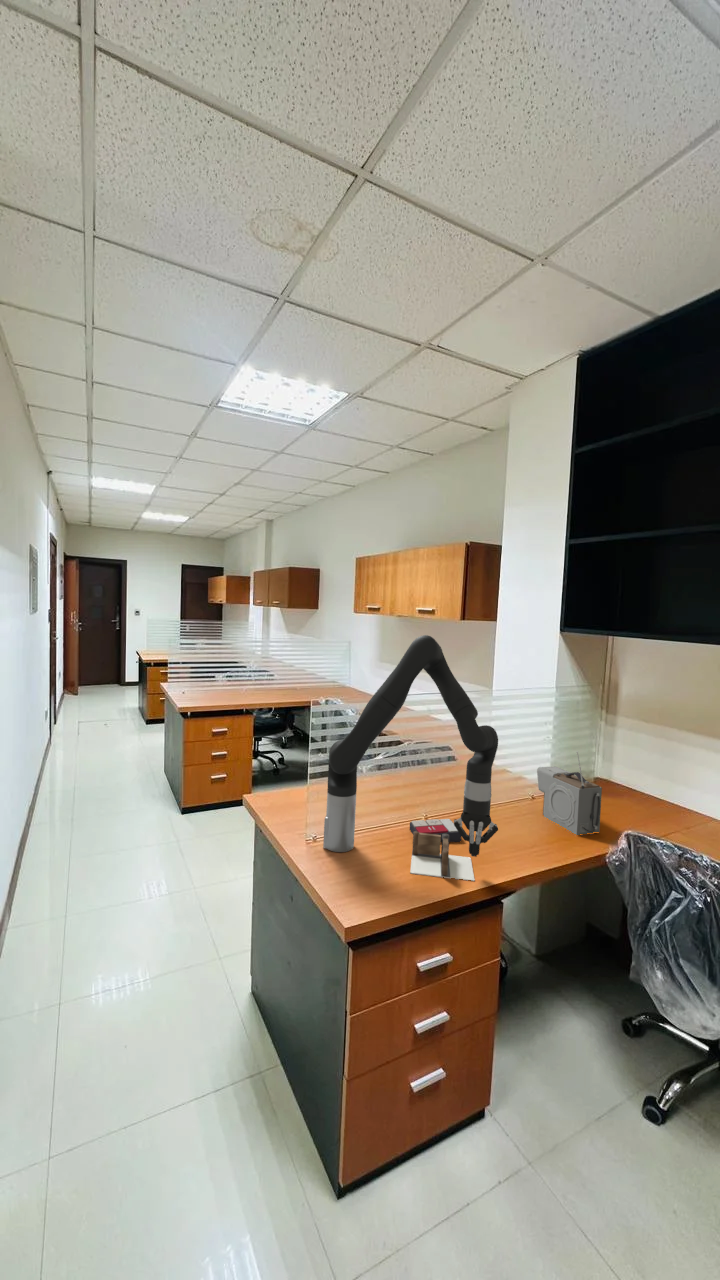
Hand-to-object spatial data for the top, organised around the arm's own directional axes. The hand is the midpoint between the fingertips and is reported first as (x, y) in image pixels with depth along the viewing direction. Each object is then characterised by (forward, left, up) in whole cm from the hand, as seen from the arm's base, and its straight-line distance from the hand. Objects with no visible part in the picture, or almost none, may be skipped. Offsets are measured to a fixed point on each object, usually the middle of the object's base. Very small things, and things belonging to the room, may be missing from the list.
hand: (473, 855), depth 138 cm
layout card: (-9, +3, -6) cm, 11 cm away
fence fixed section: (-12, +8, -6) cm, 16 cm away
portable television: (+38, +49, -6) cm, 63 cm away
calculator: (-11, +25, -6) cm, 28 cm away
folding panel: (-8, +1, -5) cm, 9 cm away
